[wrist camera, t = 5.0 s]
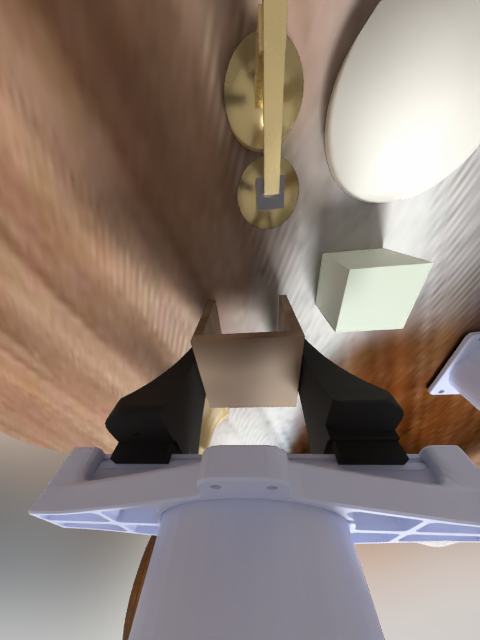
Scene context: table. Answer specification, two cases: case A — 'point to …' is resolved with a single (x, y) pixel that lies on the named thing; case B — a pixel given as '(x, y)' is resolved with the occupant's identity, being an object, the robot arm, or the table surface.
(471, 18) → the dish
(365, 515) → the robot arm
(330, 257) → the block
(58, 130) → the table surface
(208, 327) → the cover
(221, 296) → the table surface
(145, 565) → the hand bell
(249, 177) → the balance
